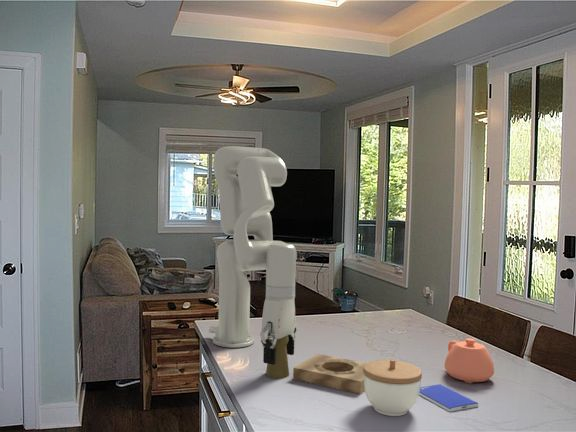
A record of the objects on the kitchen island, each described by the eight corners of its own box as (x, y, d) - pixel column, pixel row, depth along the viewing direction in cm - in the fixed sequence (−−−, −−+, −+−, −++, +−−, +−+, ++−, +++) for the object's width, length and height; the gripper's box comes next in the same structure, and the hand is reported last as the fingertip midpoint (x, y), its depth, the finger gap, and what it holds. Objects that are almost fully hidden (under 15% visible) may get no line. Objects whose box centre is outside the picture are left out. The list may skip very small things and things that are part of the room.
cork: (292, 372, 144) (293, 330, 143) (284, 379, 138) (285, 336, 137) (270, 369, 146) (271, 328, 145) (262, 376, 140) (263, 333, 139)
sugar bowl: (469, 389, 135) (470, 348, 135) (429, 371, 148) (431, 334, 147) (504, 382, 141) (506, 342, 140) (463, 366, 153) (465, 329, 153)
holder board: (293, 379, 138) (293, 367, 138) (317, 364, 150) (317, 353, 150) (360, 393, 130) (360, 381, 129) (380, 377, 142) (380, 365, 142)
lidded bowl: (408, 426, 112) (410, 373, 112) (352, 412, 119) (354, 361, 118) (427, 407, 123) (430, 358, 122) (375, 394, 130) (377, 348, 129)
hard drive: (414, 388, 132) (450, 407, 121) (441, 383, 135) (478, 402, 124) (414, 394, 132) (449, 414, 121) (441, 389, 135) (478, 408, 124)
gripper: (284, 286, 150) (282, 348, 150) (249, 295, 135) (248, 365, 135) (308, 289, 146) (307, 353, 147) (276, 298, 131) (274, 370, 131)
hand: (279, 358), depth 141 cm, fingers open, 9 cm apart
